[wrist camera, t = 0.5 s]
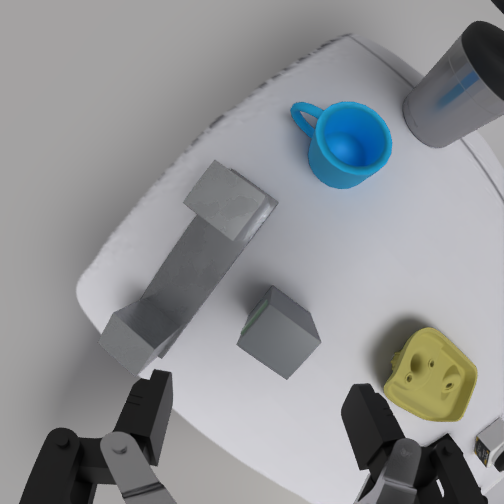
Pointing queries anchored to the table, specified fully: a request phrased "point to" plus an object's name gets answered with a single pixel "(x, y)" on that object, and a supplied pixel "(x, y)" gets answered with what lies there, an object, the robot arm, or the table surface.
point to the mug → (344, 142)
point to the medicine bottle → (491, 445)
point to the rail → (189, 267)
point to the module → (279, 333)
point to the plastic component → (431, 377)
